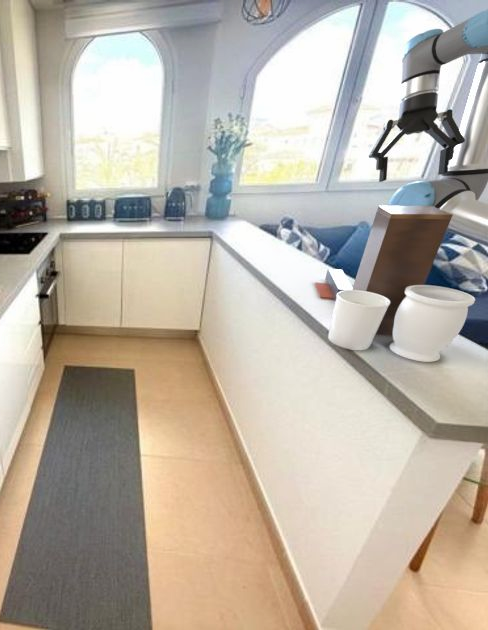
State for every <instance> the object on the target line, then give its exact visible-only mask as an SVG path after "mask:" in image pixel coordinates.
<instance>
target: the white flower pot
mask: <svg viewBox="0 0 488 630" xmlns="http://www.w3.org/2000/svg"><path fill="white" fill-rule="evenodd" d="M389 305H390V300H389V299H388V298H386V297H384V296H382V295H379V294H376V293H372V292H367V291H360V290H344V291H340V292H338V293H337V295H336V301H335V300H334V306H333V307H334V308H333V311H332V316H331V320H330V325H329V330H328V333H327V339H328V341H329V342H330V343H332V344H333V345H335V346H337V347H339V348H341V349H342V348H343V349H345V350H346V349H347V350H351V351H366V350H368V349H369V348H370V347H371V345H372V343H373V341H374V340H375V339H374V338H375V336H376V335H377V334H376V332H377V330H378V328H379V326H380V324H381V321H382V319H383V317H384V315H385V313H386V311H387V308H388V306H389Z"/></svg>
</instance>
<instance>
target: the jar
mask: <svg viewBox="0 0 488 630" xmlns="http://www.w3.org/2000/svg"><path fill="white" fill-rule="evenodd" d="M405 295H406V297H405V298H404V299H403V301H402V302H401V304H400V305H399V307H398V309H397V312H396V315H395V319H394V327H393V336H392V340H393V342H391V343H390V344H389V349H390V351H392V352H393V353H394V354H396V355H398V356H399V357H400V356H401V357H402V358H405V359H409V360H411V361H417V362H422V363H423V362H424V363H431V362H433V363H434V362H437V361H439V360H440V358H441V354H440V353H441V352H443V351H444V350H446V349H447V348H448V347H449V346H450V345H451V344H452V342H453V341H454V339H455V338H456V337H457V336H458V334H459V333H460V332H461V330H462V329H463V327H464V325H465V322H466V320H467V317H468V312H469V307H471V306H473V305H474V304H475V302H476V298H475V297H474V296H473V295H472V294H470V293H467V292H464V291H462V290H458V289H456V288H455V289H454V288H450V287H446V286H440V285H439V286H438V285H430V284H424V285H413V286H409V287H406V289H405Z"/></svg>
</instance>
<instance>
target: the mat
mask: <svg viewBox="0 0 488 630" xmlns="http://www.w3.org/2000/svg"><path fill="white" fill-rule="evenodd" d="M315 287H316V289H317V293H318V295H319V297H320V299H325V300H326V299H327V300H334V298H333V296H332V294H331V291H330V289H329V287H328V285H327V283H325V282H315Z"/></svg>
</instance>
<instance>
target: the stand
mask: <svg viewBox="0 0 488 630" xmlns="http://www.w3.org/2000/svg"><path fill="white" fill-rule="evenodd" d="M452 216H453V214H450V213H448V212H445V211H443V210H441V209H438V208H436V207H433V206H389V205H378V206H377V209H376V212H375V216H374V218H373V222H372V224H371V228H370V231H369V235H368V238H367V241H366V244H365V247H364V250H363V255H362V257H361V259H360V260H361V261H360V264H359V267H358V270H357V273H356V276H355V279H354V282H353V285H352V287H353V289H352V290H360V291H367V292H372V293H376V294H379V295H382V296H384V297H386V298H388V299H389V300H390V305H389V306H388V308H387V311H386V313H385V315H384V317H383V319H382V321H381V324H380V326H379V328H378V330H377V332H376V334H375V335H381V336H390V337H393V327H394V319H395V315H396V312H397V309H398V307H399V305H400V304H401V302H402V301H403V299H404V298H405V297H406V295H405V289H406V287H409V286H413V285H426V282H427V279H428V276H429V274H430V272H431V269H432V267H433V265H434V262H435V259H436V257H437V255H438V252H439V250H440V247H441V245H442V242H443V240H444V237H445V235H446V232H447V228H448V225H449V223H450V220H451V218H452Z"/></svg>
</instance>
